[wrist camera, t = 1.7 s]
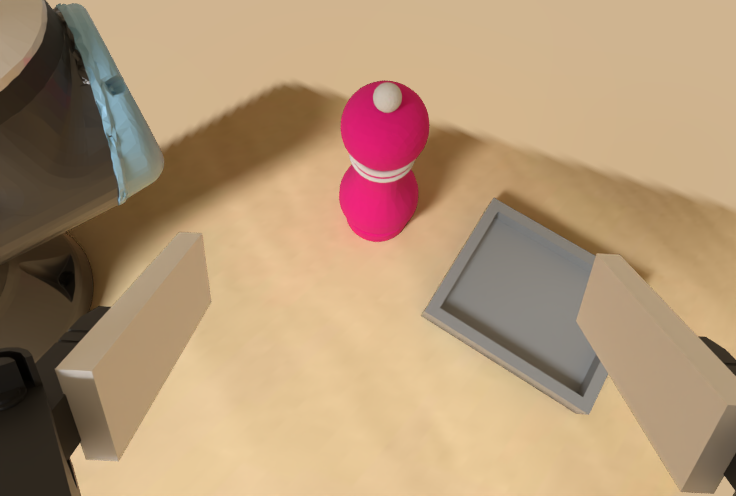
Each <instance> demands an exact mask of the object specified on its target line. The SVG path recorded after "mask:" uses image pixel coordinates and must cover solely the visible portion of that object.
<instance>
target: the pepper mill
mask: <svg viewBox="0 0 736 496" xmlns="http://www.w3.org/2000/svg"><path fill="white" fill-rule="evenodd" d="M428 134H429V117H428V113H427V109H426V107H425V105H424V103H423V101H422V100H421V99H420V97H419V96H418V95H417V94H416V93H415V92H414V91H412V90H411V89H410V88H408V87H406V86H405V85H403V84H400V83H397V82H393V81H378V82H373V83H370V84H367V85H366V86H364V87H362V88H360V89H359V90H358V91H357V92H355V93H354V94H353V95H352V97H351V98H350V99H349V101H348V102H347V104H346V106H345V108H344V111H343V114H342V118H341V135H342V139H343V142H344V145H345V147H346V149H347V151H348V152H349V157H350V160H351V163H352V165H351V166H350V167H349V168H348V170H347V171H346V173H345V174H344V176H343V179H342V181H341V185H340V192H339V200H340V205H341V209H342V211H343V213H344V215H345V216H346V218H347V221H348V224H349V226H350V227H351V229H352V230H353V231H354V232H355V233H356V234H357V235H358V236H360V237H362V238H363V239H366V240H369V241H374V242H381V241H386V240H389V239H391V238H394V237H395V236H397V235H398V234H399V233H400V232H401V231H402V230H403V228H404V227H405V225H406V223H407V222H408V221H409V220H410V219H411V217H412V216H413V214H414V212H415V210H416V207H417V203H418V184H417V181H416V178H415V176H414V173H413V172H412V170H411V168H412V166H413V165H414V162H415V159H416V158H417V157H418V155H419V154H420V153H421V151H422V150H423V149H424V147H425V144H426V142H427V139H428Z"/></svg>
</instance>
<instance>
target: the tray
mask: <svg viewBox="0 0 736 496" xmlns="http://www.w3.org/2000/svg"><path fill="white" fill-rule="evenodd" d="M595 257H596V256H595V255H593V254H591V253H589V252H588V251H586V250H584V249H582V248H581V247H579V246H577V245H575V244H574V243H572V242H570V241H568V240H567V239H565V238H563V237H561V236H560V235H558V234H556V233H554V232H553V231H551V230H549V229H547V228H546V227H544V226H542V225H540V224H539V223H537V222H535V221H533V220H532V219H530V218H528V217H527V216H525V215H523V214H521V213H520V212H518V211H516V210H514V209H513V208H511V207H509V206H507V205H506V204H504V203H502V202H500V201H499V200H497V199H495V198H493V199H492V201H491V202H490V204H489V205H488V207H487V208H486V210H485V212H484V213H483V215H482V217H481V218H480V220H479V221H478V223H477V225H476V226H475V228H474V230H473V231H472V233H471V235H470V236H469V238H468V239H467V241H466V243H465V244H464V246H463V248H462V249H461V251H460V253H459V254H458V256H457V257H456V259H455V261H454V262H453V264H452V266H451V267H450V269H449V271H448V272H447V274H446V276H445V277H444V279H443V280H442V282H441V284H440V285H439V287H438V289H437V290H436V292H435V294H434V295H433V297H432V298H431V300H430V302H429V303H428V305H427V307H426V308H425V310H424V312H423V313H422V315H421V316H422V317H424V318H426V319H427V320H429V321H430V322H432V323H434V324H435V325H437V326H438V327H440V328H441V329H443V330H445V331H446V332H448V333H449V334H451V335H453V336H454V337H456V338H457V339H459V340H460V341H462V342H464V343H465V344H467V345H468V346H470V347H472V348H473V349H475V350H476V351H478V352H479V353H481V354H483V355H484V356H486V357H487V358H489V359H491V360H492V361H494V362H495V363H497V364H498V365H500V366H502V367H503V368H505V369H506V370H508V371H510V372H511V373H513V374H514V375H516V376H517V377H519V378H521V379H522V380H524V381H525V382H527V383H529V384H530V385H532V386H533V387H535V388H536V389H538V390H540V391H541V392H543V393H544V394H546V395H548V396H549V397H551V398H552V399H554V400H556V401H557V402H559V403H560V404H562V405H563V406H565V407H567V408H568V409H570V410H571V411H573V412H575V413H578V414H588V415H589V413H590V411H591V409H592V407H593V405H594V403H595V401H596V399H597V396H598V394H599V392H600V390H601V388H602V386H603V384H604V382H605V379H606V377H607V375H608V373H607V371H606V369H605V368H604V366H603V364H602V363H601V361H600V359H599V358H598V356H597V355H596V353H595V351H594V350H593V348H592V346H591V345H590V343H589V342H588V340H587V338H586V337H585V335H584V333H583V332H582V330H581V328H580V327H579V325H578V324H577V322H576V319H577V316H578V313H579V310H580V306H581V303H582V300H583V296H584V293H585V290H586V287H587V283H588V280H589V277H590V273H591V270H592V267H593V264H594V260H595Z"/></svg>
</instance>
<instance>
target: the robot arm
mask: <svg viewBox="0 0 736 496" xmlns="http://www.w3.org/2000/svg"><path fill="white" fill-rule="evenodd" d="M163 168H164V157H163V154H162V152H161V149H160V147H159V146H158V144H157V142H156V140H155V138H154V136H153V134H152V132H151V130H150V128H149V126H148V124H147V123H146V121H145V119H144V117H143V115H142V113H141V112H140V110H139V108H138V106H137V104H136V102H135V100H134V99H133V97H132V95H131V93H130V91H129V89H128V87H127V85H126V84H125V82H124V79H123V77H122V76H121V74H120V72H119V70H118V68H117V66H116V65H115V62H114V60H113V59H112V57H111V55H110V53H109V51H108V49H107V47H106V45H105V43H104V41H103V40H102V38H101V36H100V34H99V32H98V30H97V28H96V27H95V25H94V23H93V21H92V19H91V18H90V16H89V14H88V12H87V10H86V9H85V8H84V7H83V6H82V5H79V4H74V3H72V4H69V5H66V4H62V5H61V4H58V5H56V7H55V8H54V9H52V8H51V7H50V5H48V3H47V2H46V0H0V496H81V494H80V490H79V486H78V483H77V479H76V475H75V472H74V468H73V465H72V462H71V459H70V456H71V455H72V453H73V452H74V450H75V449H76V448H77V446H78V445H79V443H81V446H82V449H83V452H84V455H85V458H86V460H104V461H119V460H120V458H121V456H122V455H123V453H124V451H125V450H126V448H127V446H128V444H129V443H130V441H131V439H132V438H133V436H134V434H135V432H136V431H137V429H138V427H139V425H140V424H141V422H142V420H143V419H144V417H145V415H146V413H147V412H148V410H149V408H150V407H151V405H152V403H153V401H154V400H155V398H156V396H157V395H158V393H159V391H160V389H161V388H162V386H163V384H164V383H165V381H166V379H167V377H168V376H169V374H170V372H171V370H172V369H173V367H174V365H175V364H176V362H177V360H178V358H179V357H180V355H181V353H182V352H183V350H184V348H185V346H186V345H187V343H188V341H189V340H190V338H191V336H192V334H193V333H194V331H195V329H196V328H197V326H198V324H199V322H200V321H201V319H202V317H203V316H204V314H205V312H206V310H207V309H208V307H209V305H210V303H211V296H210V288H209V281H208V273H207V266H206V258H205V251H204V243H203V236H202V233H191V232H179V233H178V234H177V235H176V236H175V237H174V238H173V239H172V240H171V242H170V243H169V244H168V245H167V246H166V247H165V248H164V249H163V250H162V251H161V253H160V254H159V255H158V256H157V257H156V258H155V259H154V260H153V261H152V263H151V264H150V265H149V266H148V267H147V268H146V269H145V270H144V271H143V272H142V274H141V275H140V276H139V277H138V278H137V279H136V280H135V281H134V282H133V283H132V285H131V286H130V287H129V288H128V289H127V290H126V291H125V292H124V293H123V295H122V296H121V297H120V298H119V299H118V300H117V301H116V302H115V303H114V304H113V306H112V307H102V306H98V307H97V308H95V309H93V310H92V311H90V312H89V309H90V306H91V301H92V295H93V277H92V271H91V267H90V264H89V261H88V259H87V257H86V255H85V253H84V251H83V250H82V248H81V247H80V246H79V245H78V244H77V242H76V241H75V240H73V239H72V238H71V237H70V236H69V235H67V234H66V233H65V232H66V231H68V230H70V229H72V228H74V227H76V226H78V225H80V224H82V223H84V222H86V221H88V220H90V219H92V218H94V217H96V216H98V215H100V214H102V213H104V212H106V211H108V210H110V209H111V208H113V207H115V206H117V205H118V206H119V205H121V204H123V203H125V202H126V200H127V198H129V197H130V196H132V195H134V194H135V193H137V192H139V191H140V190H142V189H143V188H145V187H147V186H148V185H150V184H152V183H153V182H155V181H156V180H157V179H158V178H159V176H160V174H161V173H162V171H163ZM576 322H577V324H578V325H579V327H580V328H581V330H582V332H583V333H584V335H585V337H586V338H587V340H588V342H589V343H590V345H591V346H592V348H593V350H594V351H595V353H596V355H597V356H598V358H599V359H600V361H601V363H602V364H603V366H604V368H605V369H606V371H607V373H608V374H609V376H610V377H611V379H612V381H613V382H614V384H615V386H616V387H617V389H618V391H619V392H620V394H621V395H622V397H623V399H624V400H625V402H626V404H627V405H628V407H629V408H630V410H631V412H632V413H633V415H634V417H635V418H636V420H637V422H638V423H639V425H640V426H641V428H642V430H643V431H644V433H645V435H646V436H647V438H648V439H649V441H650V443H651V444H652V446H653V448H654V449H655V451H656V453H657V454H658V456H659V457H660V459H661V461H662V462H663V464H664V466H665V467H666V469H667V470H668V472H669V474H670V475H671V477H672V479H673V480H674V482H675V484H676V485H677V487H678V488H679V490H680V492H692V493H711V494H713V493H714V492H715V491H716V489H717V487H718V486H719V484H720V482H721V480H722V479H723V477H724V476H725V477H726V478H727V480H728V481H729V482H730V484H731V485H732V487H733V488H734V489H735V493H734V494H733V496H736V360H735V359H734V358H733V357H732V356H731V355H730V354H729V353H728V352H727V351H726V350H725V349H724V348H722V347H721V346H719V345H718V344H716V343H715V342H713V341H711V340H710V339H708V338H707V337H698V336H697V335H696V334H695V333H694V332H693V331H692V330H691V329H690V328H689V327H688V326H687V325H686V324H685V322H684V321H683V320H682V319H681V318H680V317H679V316H678V315H677V314H676V313H675V312H674V311H673V310H672V309H671V308H670V307H669V306H668V305H667V304H666V303H665V301H664V300H663V299H662V298H661V297H660V296H659V295H658V294H657V293H656V292H655V291H654V290H653V289H652V288H651V287H650V286H649V285H648V284H647V283H646V282H645V281H644V279H643V278H642V277H641V276H640V275H639V274H638V273H637V272H636V271H635V270H634V269H633V268H632V267H631V266H630V265H629V264H628V263H627V262H626V261H625V260H624V258H623V257H622V256H621V255H619V254H600V253H597V254H596V257H595V260H594V264H593V267H592V270H591V273H590V277H589V280H588V283H587V287H586V290H585V293H584V296H583V300H582V303H581V306H580V310H579V313H578V316H577V319H576Z"/></svg>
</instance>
